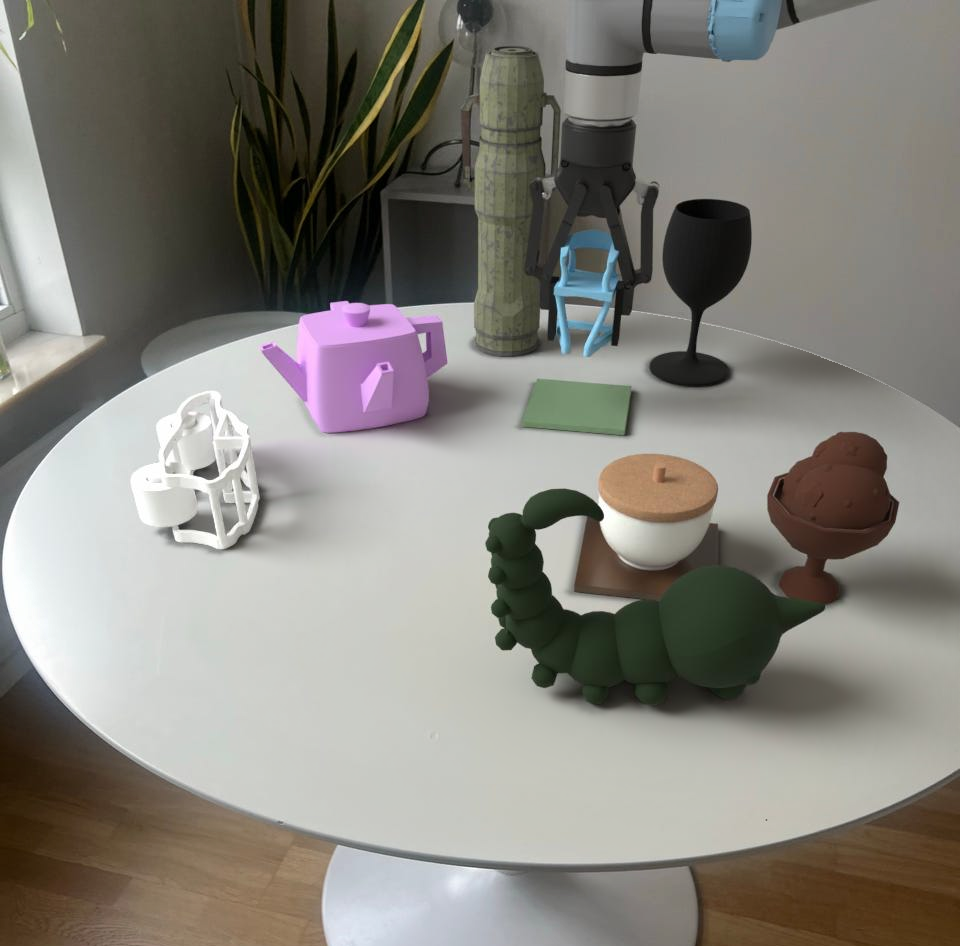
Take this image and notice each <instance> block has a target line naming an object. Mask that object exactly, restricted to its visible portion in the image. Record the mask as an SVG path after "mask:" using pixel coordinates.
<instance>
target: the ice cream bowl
mask: <svg viewBox="0 0 960 946" xmlns="http://www.w3.org/2000/svg"><path fill="white" fill-rule="evenodd" d="M887 470H888V454H887V453H886V451H885V449H884V447H883V446H882V445H881V444H880V442H879V441H878V440H877V439H876V438H874V437H873V436H870V435H869V434H867V433H863V432H857V431H838V432H837V433H835V434H833V435H831V436H830V437H829V438H827V439H826V440H823V441H821V442H819V443H818V445H816V446H815V448H814V450H813V452H812V456H808V457H806V458H803V459H801V460H797V461H796V462H795V464H794V465H793V466H791V468H790V469H789V471H788V472H785V473H782V474H779V475H776V476H774V477H773V480H772V483H771V485H770V487H769V490H768V493H767V496H766V500H767V501H766V503H767V504H766V505H767V513H768V517H769V520H770V522H771V524H772V525H773V526H774V527H775V528H776V530H777V531H779V533H780V535H781V536H782V537H783V538H784V540H785V541H786V542H787V543H788V544H789V546H790V547H791V548H792V549H794V550H795V551H798V552H799V553H801V554H804V555H806V557H807V558H806V561H805V564H804V566H803V565H797V566H794V567H791V568H789V569H787V570H784V571H783V573H782V574H781V577H780V579H779V582H778V587H779V588H780V589H781V591H782V592H783V593H784V594H785V597H787V598H794V599H801V600H807V601H813V602H819V603H822V604H824V605H826V604H829V603H831V602H833V601H836V600H838V599H839V594H840V590H841V587H840V586H841V584H840V582H839V581H838V580H837V579H836V578H835V577H834V576H833V574H832V573H830V572H828V571H825V567H826V563H827V561H828V560H836V561H837V560H844V559H847V558H849V557H852V556H855V555H857V554H860V553H863V552H865V551H867V550H870V549H871V548H874V547H877V546H878V545H879V544H880V543H881V542H883V541H884V540H885V539H886V538H887V536H888V535H889V534H890V532H891V530H892V529H893V527H894V525H895V524H896V521H897V516H898V511H899V507H900V501H899V500H898V499H897V498H896V497H895V496H894V495H892V494H891V492H890V489H889V486H888V482H887V481H886V479H885V474H886V472H887Z"/></svg>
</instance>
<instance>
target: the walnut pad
mask: <svg viewBox="0 0 960 946" xmlns="http://www.w3.org/2000/svg"><path fill="white" fill-rule="evenodd" d="M582 535H583V536H582V541H581V546H580V552H579V556H578V557H579V558H578V562H577V568H576V573H575V578H574V583H573V592H577V593H583V594H584V593H585V594H595V595H603V596H610V597H611V596H613V597H621V598H630V599H638V600H656V601H660V599H661V597H662V596H663V594H664V593H665V591H666V590H667V589H668V588H669V587H670V586H671V585H672V584H673V583H674V582H675V581H676V580H677V579H679V578H680V577H681V576H683V575H685V574H686V573H688V572H690V571H693V570H695V569H698V568H702V567H707V566H712V565H719V524H718V523H715V522H710V524H709V527H708V530H707V532H706V534H705V536H704V538H703V540H702V541H701V543H700V544H699V546H698V547H697V548H696V549H695V550H694V551H693V552H692V553H691V554H690V555H688V556H687V557H686V558H684V559H682V560H680V561H679V562H678V563H677V564H676V565H674V566H673V567H671V568H668V569H664V570H657V571H650V570H642V569H638V568H635V567H632V566H630V565H628V564H626V563H625V562H623V561H622V560H621V559H620V558H619V556H618V554H617V553H616V552H615V551H614V550H613V549H612V548H611V547H610V546H609V544H608V543H607V541H606V539H605V537H604V536H603V533H602V530H601V526H600V522H598V521H595V520H594V519H592V518H590V517H587V516H586V521H585V524H584V529H583V534H582Z"/></svg>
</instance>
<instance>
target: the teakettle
mask: <svg viewBox="0 0 960 946" xmlns="http://www.w3.org/2000/svg"><path fill="white" fill-rule="evenodd" d="M329 305H330V310H324V311H319V312H313V313H308V314H304V315H302V316H300V318H299V322H298V329H297V330H298V332H297V342H296V360H295V359H293V358H292V357H291V356H290V355H289V354H287V352H285V351H284V350H283V349H282V348H281V347H279V346H278V345H277V344H276V343H275V342H276V341H272V342H268V343H265V344H263V345H259V349H260V351H261V353H262V355H263V356H264V358H265V359H266V360H267V361H268V362H269V363H270V364H271V366H272V367H273V368H274V369H275V370H276V371H277V372H278V374H279V375H280V376H281V377H282V378H283V379H284V381H285V382H286V383H287V384H288V385H289V386H290V387H291V388H292V390H293V391H294V392H295V393H296V394H297V396H299V398H300V399H301V400H302V401H303V402H304V403H305V406H306V408H307V410H308V412H309V413H310V414H309V415H310V416H311V418H312V419H313V421H314V422H315V425H316V426H317V427H318V429H319V430H320V431H321V432H323V433H328V434H332V433H347V432H354V431H362V430H368V429H369V430H371V429H376V428H382V427H387V426H392V425H396V424H401V423H405V422H410V421H413V420H418V419H421V418H423V417H425V416H426V414H427V412H428V411H427V410H428V406H429V403H430V389H429V380H428V379H429V378H430V377H431V376H433V375H434V374H436V373H437V372H438V371H440V370H442V369H443V368H444V367H445V366H446V365H448V357H447V356H448V355H447V348H446V342H445V341H446V340H445V333H444V324H443V320H441V317H439V316H438V315H437V314H436V315H435V314H434V315H424V316H423V315H422V316H413V317H407V316H405V314H403V312H402V311H401V309H399V308H398V307H397V306H396V305H395V304H393V303H384V304H383V303H380V304H370V305H369V304H366V303H364V302H351V303H350V302H349V301H348V300H343V301H335V302H330V303H329ZM421 334H425V347H426V350H425V351H424V352H423V350H422V345H421V342H420V338H419V335H421Z"/></svg>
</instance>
